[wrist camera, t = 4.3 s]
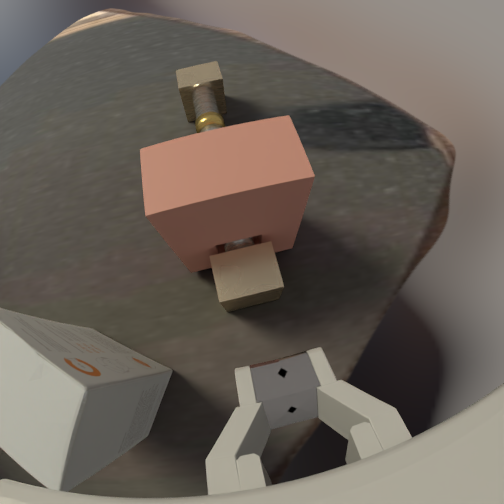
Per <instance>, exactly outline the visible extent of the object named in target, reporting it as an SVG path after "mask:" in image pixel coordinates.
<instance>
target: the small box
mask: <svg viewBox="0 0 504 504" xmlns="http://www.w3.org/2000/svg"><path fill="white" fill-rule="evenodd" d="M172 371H173V370H172V369H170V368H168V367H166V366H164V365H162V364H160V363H158V362H156V361H154V360H152V359H150V358H148V357H145V356H143V355H141V354H140V353H138V352H136V351H134V350H132V349H130V348H128V347H126V346H124V345H122V344H120V343H118V342H116V341H114V340H112V339H111V338H109V337H107V336H105V335H103V334H101V333H100V332H98V331H96V330H94V329H92V328H86V327H80V326H75V325H69V324H64V323H59V322H54V321H50V320H46V319H42V318H38V317H34V316H29V315H25V314H21V313H17V312H13V311H10V310H6V309H2V308H0V448H2V449H3V450H4V451H5V452H6V453H7V454H8V455H9V456H10V457H11V458H12V459H13V460H14V461H15V462H17V463H18V464H19V465H20V466H21V467H22V468H23V469H24V470H26V471H27V472H28V473H29V474H30V475H32V476H33V477H34V478H35V479H36V480H38V481H39V482H40V483H41V484H43V485H44V486H45V487H47V488H48V489H53V490H58V491H65V492H67V491H69V490H71V489H72V488H74V487H75V486H77V485H78V484H80V483H81V482H83V481H84V480H86V479H88V478H89V477H91V476H92V475H94V474H95V473H97V472H98V471H99V470H101V469H103V468H104V467H105V466H107V465H108V464H110V463H111V462H113V461H114V460H116V459H117V458H118V457H120V456H121V455H123V454H124V453H126V452H127V451H128V450H130V449H131V448H132V447H134V446H135V445H137V444H138V443H139V442H140V441H142V440H143V439H145V438H146V437H147V436H148V435H149V432H150V429H151V427H152V424H153V421H154V419H155V416H156V413H157V411H158V408H159V405H160V403H161V400H162V398H163V395H164V392H165V390H166V387H167V385H168V382H169V380H170V377H171V374H172Z"/></svg>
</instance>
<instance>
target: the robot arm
mask: <svg viewBox="0 0 504 504" xmlns="http://www.w3.org/2000/svg"><path fill="white" fill-rule="evenodd" d="M235 377H236V384H237V390H238V397H239V403H240V407H236V408H235V410H234V412H233V413H232V415H231V417H230V419H229V421H228V422H227V424H226V426H225V428H224V429H223V431H222V433H221V435H220V436H219V438H218V440H217V441H216V443H215V445H214V446H213V448H212V450H211V452H210V453H209V455H208V457H207V458H206V460H205V461H206V474H207V486H208V495H204V496H192V497H174V498H125V497H108V496H96V495H87V494H78V493H71V492H65V491H58V490H53V489H47V488H42V487H38V486H33V485H29V484H24V483H20V482H17V481H13V480H9V479H1V480H0V504H504V383H503V384H502V385H500V386H499V387H498V388H496V389H495V390H493V391H492V392H491V393H489V394H488V395H486V396H485V397H483V398H482V399H480V400H479V401H477V402H476V403H474V404H472V405H471V406H469V407H468V408H466V409H464V410H463V411H461V412H459V413H458V414H456V415H454V416H453V417H451V418H449V419H447V420H445V421H444V422H442V423H440V424H438V425H436V426H434V427H433V428H431V429H429V430H427V431H425V432H423V433H421V434H419V435H417V436H415V437H413V438H412V437H411V435H410V433H409V431H408V430H407V428H406V426H405V424H404V422H403V420H402V419H401V417H400V415H399V413H398V412H397V410H396V408H394V407H392V406H390V405H388V404H386V403H384V402H382V401H380V400H378V399H376V398H374V397H372V396H371V395H369V394H367V393H365V392H363V391H361V390H359V389H357V388H356V387H354V386H352V385H350V384H348V383H347V382H345V381H343V380H339V381H337V379H336V377H335V375H334V373H333V371H332V368H331V366H330V364H329V362H328V360H327V358H326V356H325V354H324V351H323V349H322V348H321V347H319V348H315V349H312V350H308V351H304V352H301V353H297V354H294V355H290V356H287V357H283V358H279V359H277V360H273V361H268V362H264V363H259V364H254V365H250V366H245V367H241V368H236V369H235ZM316 417H318V418H319V419H321V420H322V421H323V422H325V423H326V424H327V425H329V426H330V427H331V428H333V429H334V430H335V431H337V432H338V433H340V434H341V435H342V436H344V437H345V438H346V439H348V440H349V442H348V447H347V454H346V459H345V460H346V462H347V465H344V466H341V467H338V468H335V469H332V470H329V471H325V472H322V473H319V474H315V475H312V476H309V477H305V478H301V479H297V480H293V481H289V482H284V483H280V484H275V485H272V484H271V480H270V478H269V476H268V474H267V472H266V469H265V467H264V465H263V463H262V461H261V459H260V457H261V455H262V452H263V450H264V447H265V445H266V442H267V440H268V437H269V435H270V432H271V429H274V428H278V427H282V426H285V425H289V424H292V423H296V422H300V421H304V420H308V419H312V418H316Z"/></svg>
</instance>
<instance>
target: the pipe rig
mask: <svg viewBox="0 0 504 504" xmlns="http://www.w3.org/2000/svg"><path fill="white" fill-rule="evenodd" d="M176 74H177V80H178V87H179V91H180V95H181V99H182V102H183V106H184V109H185V113H186V117H187V120H188V122H190V121H194V120H196V121H195V126H196V131H197V133H201V132H205V131H210V130H214V129H218V128H223V127H225V123H224V120H223V117H222V115H221V114H225V113H227V110H226V102H225V94H224V86H223V78H222V75H221V72H220V69H219V66H218V63H217V61H215V62H210V63H205V64H201V65H196V66H192V67H188V68H183V69H179V70H176ZM224 248H225V252H224V253H220V254H215V255H211V256H209V257H210V261H211V266H212V271H213V275H214V280H215V284H216V289H217V293H218V298H219V302H220V303H221V305H222V306H223V307H224V308H225V310H226V311H227V312H229V311H233V310H237V309H242V308H246V307H250V306H254V305H258V304H262V303H266V302H270V301H274V300H278V299H279V298H280V295H281V293H282V290H283V288H284V284H283V281H282V277H281V274H280V270H279V266H278V263H277V259H276V256H275V252H274V249H273V245H272V242H271V241H269V242H265V243H261V244H257V245H254V241H253V238H252V237H249V238H245V239H241V240H237V241H233V242H228V243H224Z"/></svg>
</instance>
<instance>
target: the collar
mask: <svg viewBox="0 0 504 504" xmlns="http://www.w3.org/2000/svg"><path fill="white" fill-rule="evenodd" d="M140 156H141V171H142V184H143V195H144V205H145V215H146V217H147V218H148V220H149V221H150V222H151V223H152V225H153V226H154V227H155V229H156V230H157V231H158V232H159V234H160V235H161V236H162V237H163V239H164V240H165V241H166V242H167V244H168V245H169V246H170V247H171V249H172V250H173V251H174V252H175V253H176V255H177V256H178V257H179V258H180V260H181V261H182V262H183V263H184V264H185V266H186V267H187V268H188V269H189V271H190V272H191V273H192V272H196V271H200V270H204V269H208V268H212V266H211V261H210V257H209V256H211V255H215V254H220V253H224V252H225V248H224V243H228V242H233V241H237V240H241V239H245V238H249V237H252V238H253V241H254V245H257V244H261V243H265V242H269V241H271V242H272V245H273V249H274V252H279V251H283V250H287V249H291V248H293V245H294V242H295V239H296V236H297V232H298V229H299V226H300V223H301V220H302V217H303V213H304V210H305V207H306V204H307V200H308V197H309V194H310V191H311V187H312V184H313V181H314V177H315V175H314V173H313V170H312V168H311V165H310V163H309V161H308V158H307V156H306V153H305V151H304V148H303V146H302V144H301V141H300V139H299V137H298V134H297V132H296V130H295V127H294V125H293V123H292V121H291V118H290V116H289V115H288V116H281V117H275V118H269V119H263V120H258V121H252V122H247V123H242V124H237V125H232V126H228V127H223V128H218V129H214V130H210V131H205V132H201V133H197V134H193V135H189V136H185V137H181V138H177V139H174V140H170V141H166V142H163V143H159V144H156V145H152V146H149V147H145V148H142V149H140Z"/></svg>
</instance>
